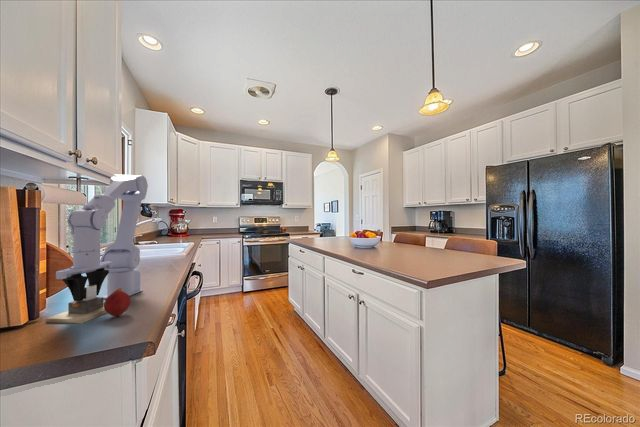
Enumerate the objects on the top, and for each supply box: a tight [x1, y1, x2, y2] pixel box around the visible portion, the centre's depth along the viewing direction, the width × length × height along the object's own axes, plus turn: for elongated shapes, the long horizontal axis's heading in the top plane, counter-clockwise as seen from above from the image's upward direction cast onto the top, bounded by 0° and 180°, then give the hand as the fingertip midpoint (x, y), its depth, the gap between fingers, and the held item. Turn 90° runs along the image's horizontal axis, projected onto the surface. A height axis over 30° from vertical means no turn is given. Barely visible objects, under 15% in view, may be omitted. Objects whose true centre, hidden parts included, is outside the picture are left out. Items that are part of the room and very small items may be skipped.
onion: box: [103, 288, 132, 317], centre depth 70 cm, size 6×6×8 cm
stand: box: [45, 296, 108, 324], centre depth 71 cm, size 12×10×4 cm
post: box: [76, 284, 98, 302], centre depth 71 cm, size 3×3×7 cm
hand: (86, 297), depth 71 cm, fingers open, 4 cm apart
